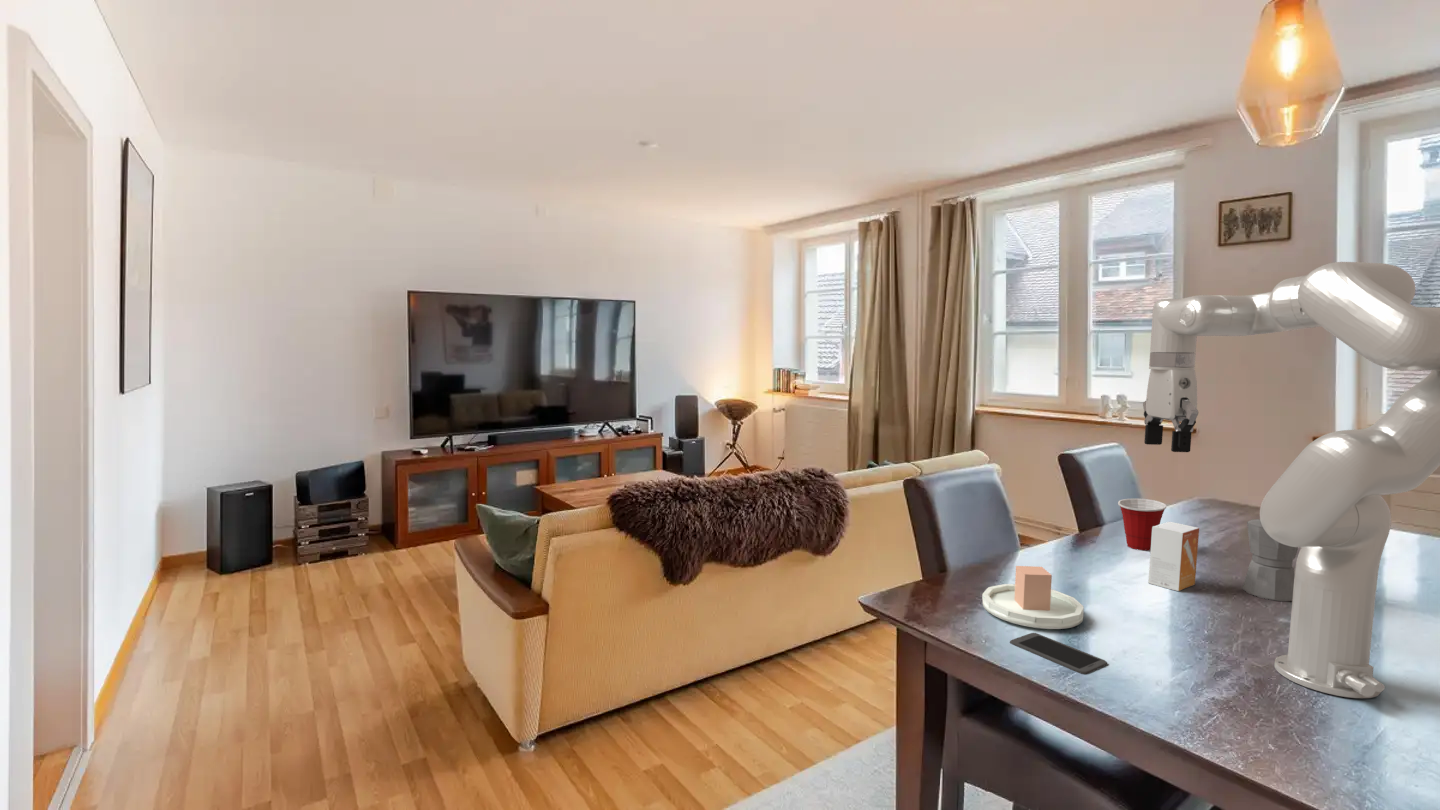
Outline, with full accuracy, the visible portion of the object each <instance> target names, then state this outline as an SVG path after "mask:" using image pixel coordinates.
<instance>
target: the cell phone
mask: <svg viewBox="0 0 1440 810" xmlns="http://www.w3.org/2000/svg"><path fill="white" fill-rule="evenodd" d="M1009 643H1010V644H1011V645H1013V646H1015V647H1017V648H1019V649H1022V650H1025V651H1026V652H1028V653H1031V654H1033V655H1035V656H1038V657H1040V658H1043V659H1045V660H1048V661H1050V662H1052V663H1055V664H1056V665H1058V666H1062V667H1063V668H1067V669H1069V670H1071V671H1074V672H1076V673H1078V674H1081V675H1089V674H1091V673H1093V672H1094V671H1097V670H1100V669H1102V668H1104V667H1106V666H1108V662H1107V661H1106V660H1105V659H1103V658H1100V657H1098V656H1095V655H1093V654H1090V653H1088V652H1084V651H1082V650H1080V649H1078V648H1074V647H1072V646H1070V645H1068V644H1065V643H1063V642H1059V641H1058V640H1055V639H1053V638H1049V637H1047V636H1045V635H1042V634H1039V633H1037V632H1031V633H1028V634H1025V635H1021V636H1019V637H1016V638H1013V639H1010V640H1009Z"/></svg>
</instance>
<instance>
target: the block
mask: <svg viewBox="0 0 1440 810" xmlns="http://www.w3.org/2000/svg"><path fill="white" fill-rule="evenodd" d="M1052 577H1053V576H1052V574H1051V573H1050V572H1049V571H1047V570H1046V569H1045V568H1044V567H1043V566H1034V565H1033V566H1032V565H1031V566H1028V565H1027V566H1026V565H1025V566H1024V565H1016V566H1015V578H1014V579H1015V580H1014V584H1015V599H1014V600H1015V601H1016V602H1017V603H1018V604H1019V605H1020V606H1021V608H1022V609H1024V610H1050V601H1051V589H1052V581H1053V580H1052Z"/></svg>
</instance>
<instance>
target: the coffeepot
mask: <svg viewBox="0 0 1440 810" xmlns="http://www.w3.org/2000/svg"><path fill="white" fill-rule="evenodd" d="M1246 524H1247V534H1248V535H1247V536H1248V545H1249V552H1250V553H1251V554H1252V556H1251V560H1250V562H1249V565H1248V569H1247V572H1246V575H1245V578H1244V582H1243V585H1242V590H1243V591H1244V592H1245V591H1246V593H1247V594H1249V595H1251V596H1253V595H1254V596H1253V597H1256V596H1257V597H1256V598H1260V599H1264V598H1265V600H1268V599H1269V600H1268V601H1276V602H1292V599H1293V587H1294V576H1295V569H1294V568H1295V567H1293V563H1294V562H1293V561H1294V560H1295V559H1296V557H1297V554H1298V553H1297V552H1298V550H1299V547H1291V546H1287V545H1284V544H1281V543H1279V542H1277V541H1275V540H1274V539H1273V538H1271V537H1270V536H1269V535H1268V534H1267V533H1266V531H1265V530H1264V528H1263V526H1262V524H1261V521H1260V518H1256V519H1253V518H1252V519H1251V520H1248V521H1247V522H1246Z"/></svg>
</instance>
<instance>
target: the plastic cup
mask: <svg viewBox="0 0 1440 810" xmlns="http://www.w3.org/2000/svg"><path fill="white" fill-rule="evenodd" d="M1117 505H1118V506H1119V508H1120V511H1121V515H1122V521H1123V527H1124V534H1125V539H1126V545H1127V547H1128V548H1129V549H1134V550H1137V549H1138V551H1151V537H1152V527H1153V526H1156V525H1159V524H1161V520H1162V518H1163V514H1164V512H1165V510H1166V509H1167V504H1166V503H1164V502H1162V501H1159V500H1155V499H1150V498H1149V499H1148V498H1138V497H1137V498H1124V499H1120V500H1118V502H1117Z"/></svg>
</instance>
